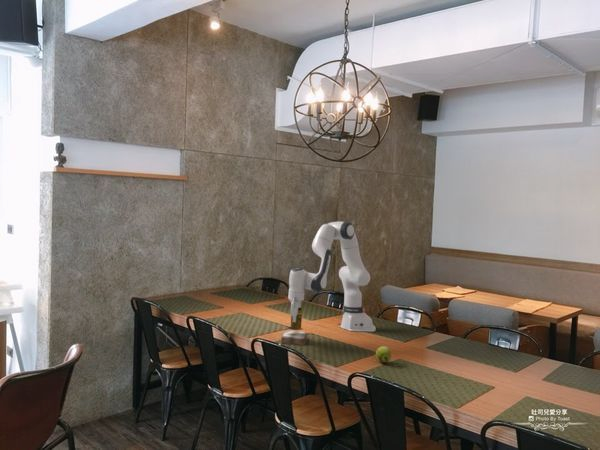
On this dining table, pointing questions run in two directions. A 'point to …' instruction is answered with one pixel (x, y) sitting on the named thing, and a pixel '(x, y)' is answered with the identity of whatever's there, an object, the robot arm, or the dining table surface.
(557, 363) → the dining table surface
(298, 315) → the condiment
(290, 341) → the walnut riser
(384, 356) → the apple
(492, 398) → the dining table surface
